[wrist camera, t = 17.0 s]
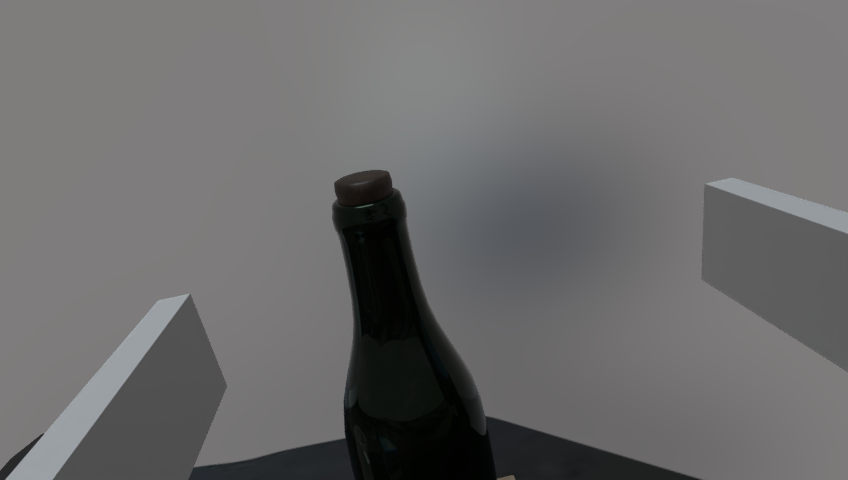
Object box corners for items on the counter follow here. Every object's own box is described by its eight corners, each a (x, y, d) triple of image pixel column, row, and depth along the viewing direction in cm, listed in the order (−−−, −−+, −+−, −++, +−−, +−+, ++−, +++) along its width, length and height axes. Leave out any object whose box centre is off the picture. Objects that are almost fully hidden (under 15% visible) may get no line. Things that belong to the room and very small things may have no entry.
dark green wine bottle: (519, 518, 42) (468, 145, 31) (499, 653, 33) (417, 195, 22) (408, 501, 46) (325, 161, 34) (363, 619, 37) (229, 210, 25)
